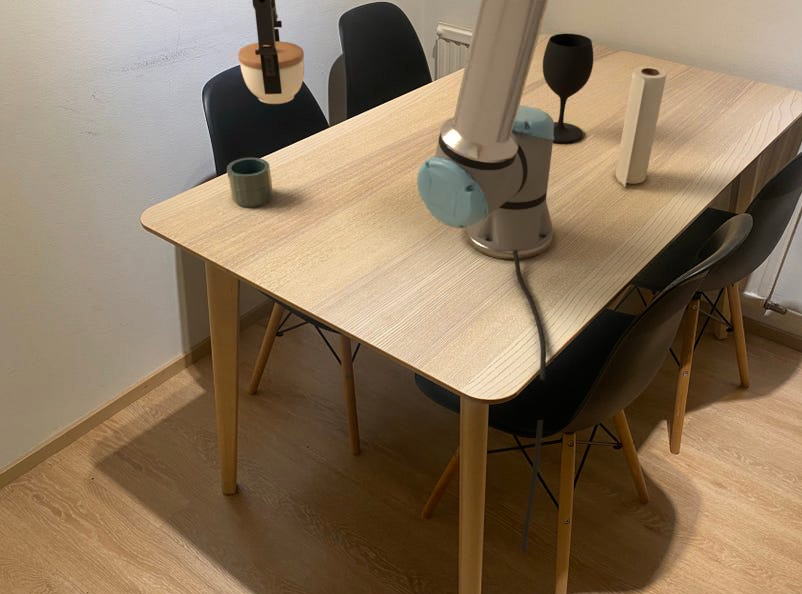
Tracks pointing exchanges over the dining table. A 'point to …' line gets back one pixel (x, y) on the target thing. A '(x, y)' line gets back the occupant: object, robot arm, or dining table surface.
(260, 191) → the grey-green hollow cylinder
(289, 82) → the trinket box
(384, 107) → the dining table surface
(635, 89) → the paper towel roll
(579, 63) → the wine glass
